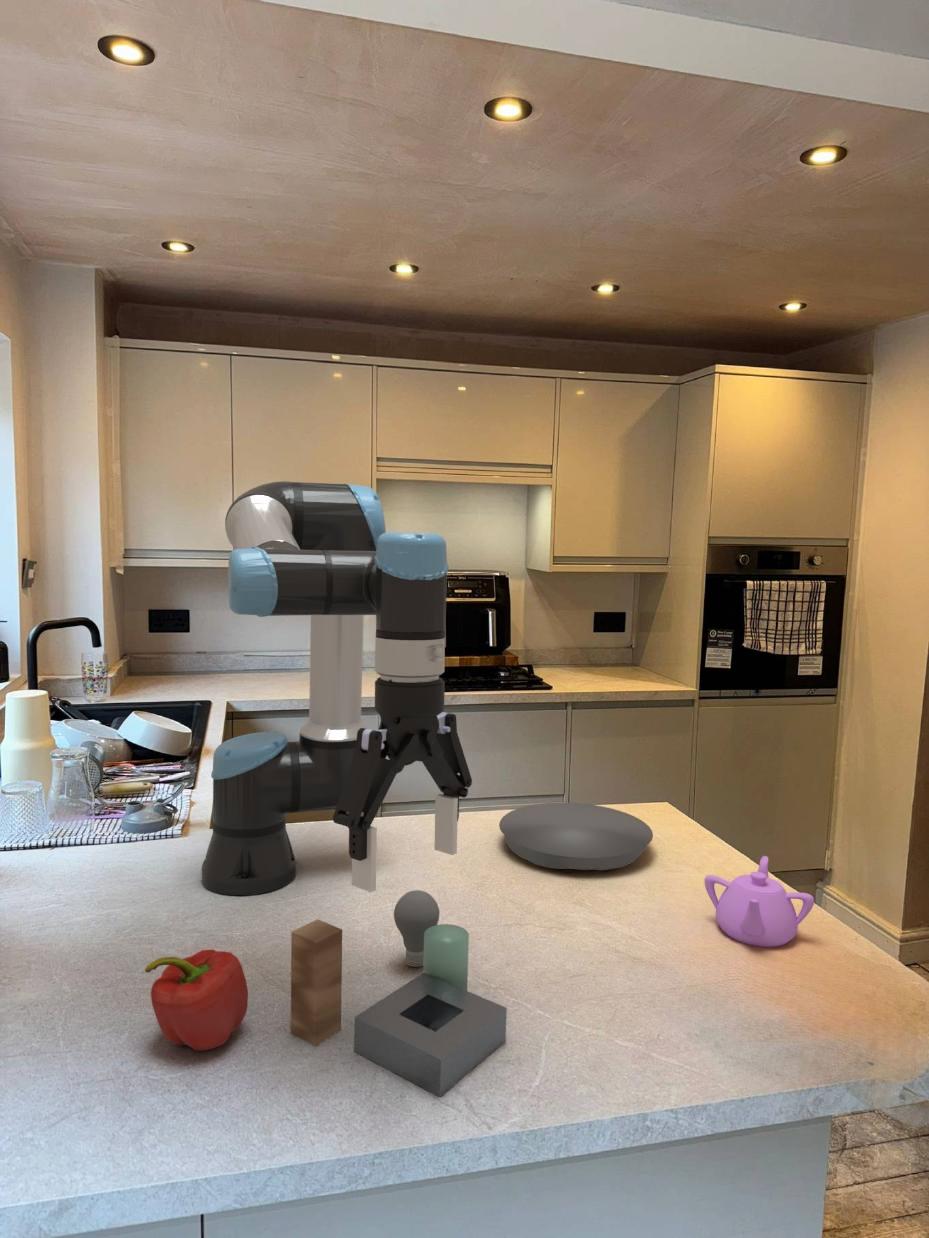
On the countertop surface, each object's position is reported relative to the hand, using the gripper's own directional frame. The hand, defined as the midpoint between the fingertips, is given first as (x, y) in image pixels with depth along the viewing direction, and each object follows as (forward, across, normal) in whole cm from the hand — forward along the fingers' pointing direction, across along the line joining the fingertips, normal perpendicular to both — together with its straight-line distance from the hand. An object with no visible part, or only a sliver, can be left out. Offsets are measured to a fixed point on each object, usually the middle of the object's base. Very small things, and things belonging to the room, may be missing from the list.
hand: (407, 868), depth 90 cm
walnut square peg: (+20, -4, +10) cm, 23 cm away
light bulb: (+20, +14, +10) cm, 27 cm away
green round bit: (+20, +11, +3) cm, 23 cm away
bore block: (+20, +2, -2) cm, 20 cm away
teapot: (+20, +53, -22) cm, 61 cm away
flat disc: (+20, +65, +15) cm, 69 cm away
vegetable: (+20, -14, +19) cm, 31 cm away
